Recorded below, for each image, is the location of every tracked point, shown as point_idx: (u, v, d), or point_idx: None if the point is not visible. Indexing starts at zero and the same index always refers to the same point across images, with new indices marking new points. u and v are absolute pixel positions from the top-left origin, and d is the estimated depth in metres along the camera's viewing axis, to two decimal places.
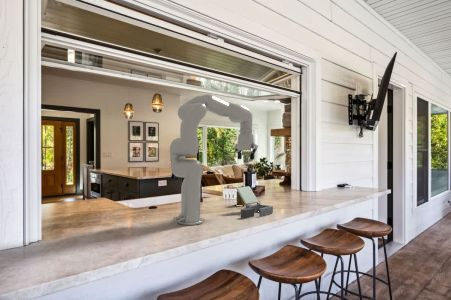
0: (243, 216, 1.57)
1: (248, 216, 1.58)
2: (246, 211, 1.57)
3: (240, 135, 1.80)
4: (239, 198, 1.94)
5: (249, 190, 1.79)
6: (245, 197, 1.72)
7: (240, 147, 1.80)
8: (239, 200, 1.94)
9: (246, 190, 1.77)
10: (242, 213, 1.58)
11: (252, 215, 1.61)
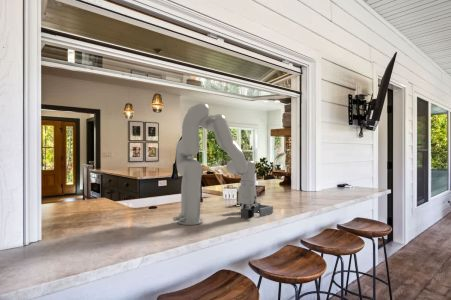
0: (243, 216, 1.57)
1: None
2: (246, 211, 1.57)
3: (241, 187, 1.60)
4: None
5: None
6: None
7: (241, 201, 1.60)
8: None
9: None
10: (242, 213, 1.58)
11: None
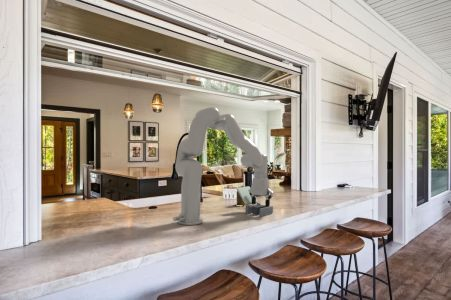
0: (255, 213, 1.67)
1: None
2: (258, 208, 1.66)
3: (254, 179, 1.69)
4: (239, 198, 1.94)
5: None
6: (245, 197, 1.72)
7: (255, 192, 1.68)
8: (239, 200, 1.94)
9: (246, 190, 1.77)
10: (254, 210, 1.67)
11: None
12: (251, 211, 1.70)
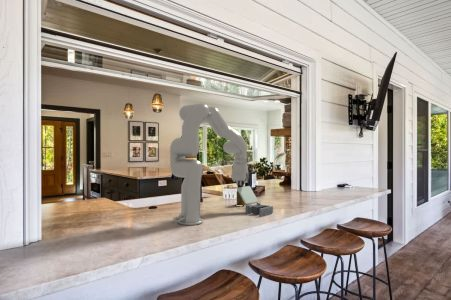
0: (255, 213, 1.67)
1: None
2: (257, 208, 1.66)
3: (234, 165, 1.79)
4: (239, 198, 1.94)
5: (249, 190, 1.79)
6: (245, 197, 1.72)
7: (235, 178, 1.78)
8: (239, 200, 1.94)
9: (246, 190, 1.77)
10: (254, 210, 1.67)
11: None
12: (251, 211, 1.70)
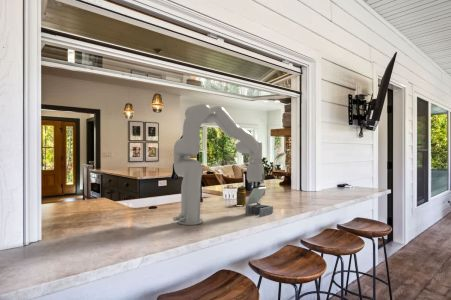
0: (254, 212, 1.67)
1: None
2: (257, 208, 1.66)
3: (249, 166, 1.72)
4: (239, 198, 1.94)
5: (262, 192, 1.73)
6: (251, 198, 1.69)
7: (250, 178, 1.72)
8: (239, 200, 1.94)
9: (259, 192, 1.71)
10: (253, 210, 1.68)
11: None
12: (251, 211, 1.70)
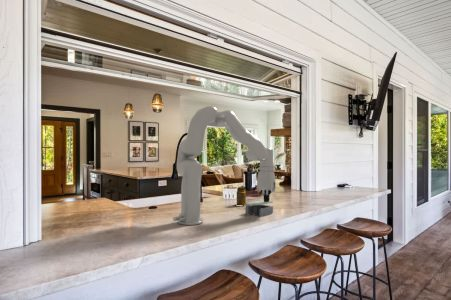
0: (254, 212, 1.67)
1: None
2: (257, 208, 1.66)
3: (260, 173, 1.67)
4: (239, 198, 1.94)
5: None
6: None
7: (261, 186, 1.66)
8: (239, 200, 1.94)
9: None
10: (253, 210, 1.68)
11: None
12: (251, 211, 1.70)
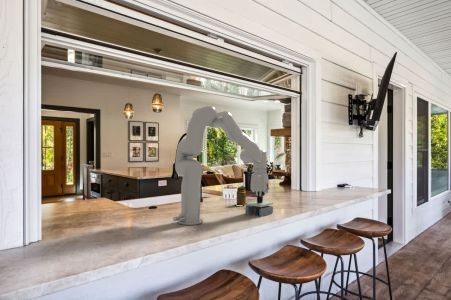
0: (254, 212, 1.67)
1: None
2: (257, 208, 1.67)
3: (254, 175, 1.70)
4: (239, 198, 1.94)
5: None
6: None
7: (254, 188, 1.69)
8: (239, 200, 1.94)
9: None
10: (253, 210, 1.68)
11: None
12: (251, 211, 1.70)
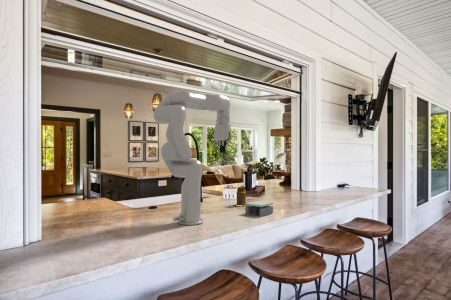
0: (254, 212, 1.67)
1: None
2: (256, 208, 1.67)
3: (217, 125, 1.70)
4: (239, 198, 1.94)
5: None
6: None
7: (217, 138, 1.70)
8: (239, 200, 1.94)
9: None
10: (253, 210, 1.68)
11: None
12: (251, 211, 1.70)
